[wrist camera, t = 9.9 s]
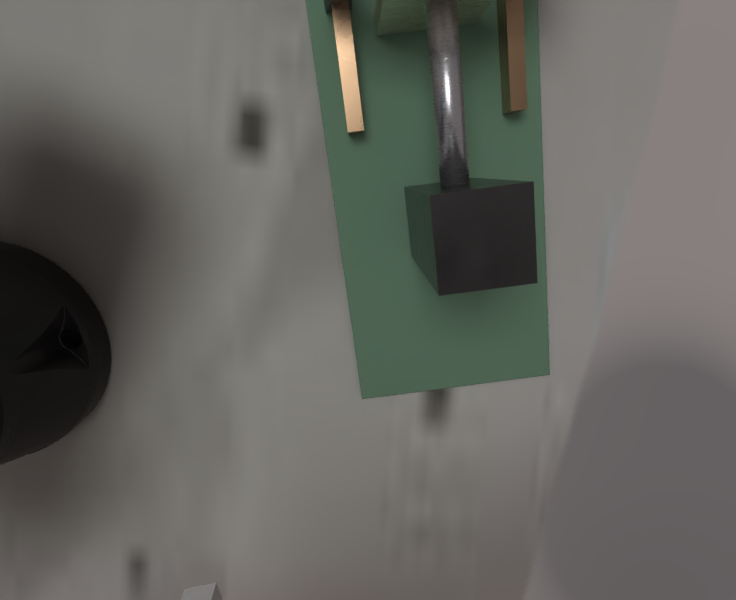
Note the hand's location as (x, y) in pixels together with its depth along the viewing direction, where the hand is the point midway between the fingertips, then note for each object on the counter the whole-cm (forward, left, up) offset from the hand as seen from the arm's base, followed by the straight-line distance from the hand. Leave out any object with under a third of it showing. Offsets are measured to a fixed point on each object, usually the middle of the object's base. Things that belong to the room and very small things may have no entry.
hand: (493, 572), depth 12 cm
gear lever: (-5, +11, -23) cm, 26 cm away
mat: (-4, +11, -24) cm, 27 cm away
